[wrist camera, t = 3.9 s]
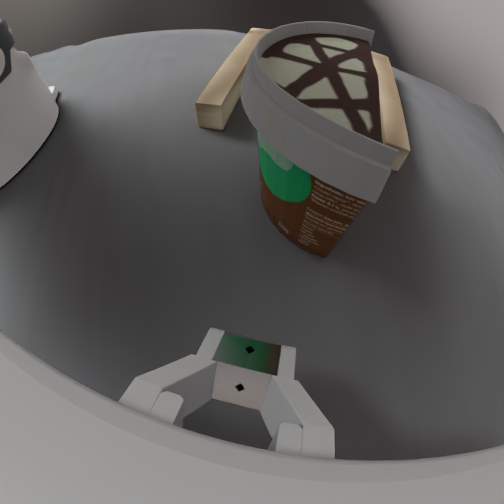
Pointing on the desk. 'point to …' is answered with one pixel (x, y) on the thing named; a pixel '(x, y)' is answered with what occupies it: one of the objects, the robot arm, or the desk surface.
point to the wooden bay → (229, 91)
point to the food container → (316, 129)
